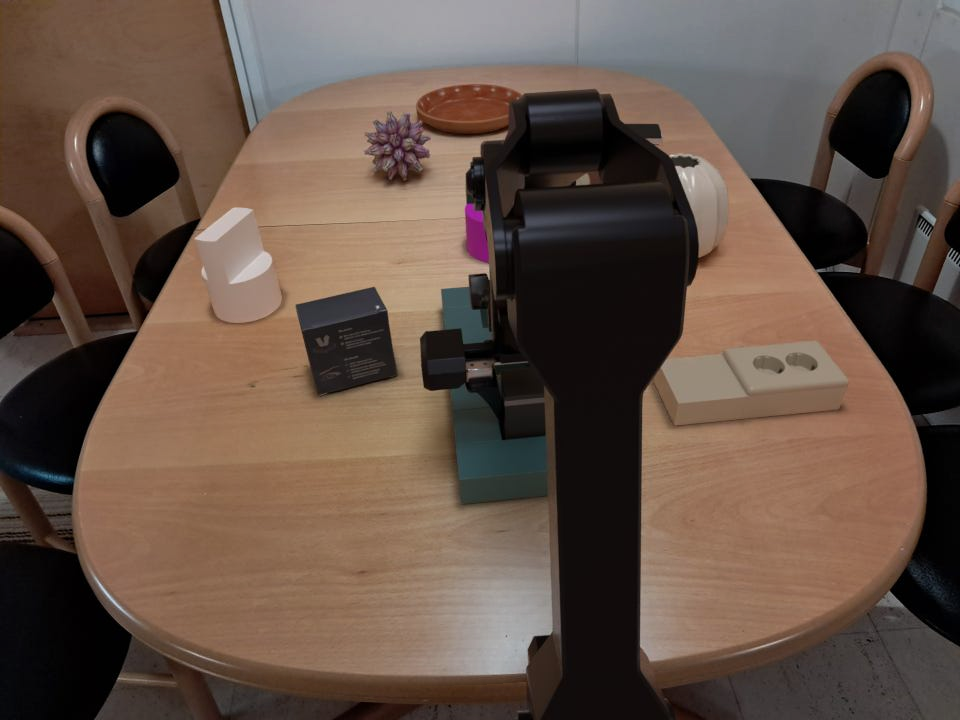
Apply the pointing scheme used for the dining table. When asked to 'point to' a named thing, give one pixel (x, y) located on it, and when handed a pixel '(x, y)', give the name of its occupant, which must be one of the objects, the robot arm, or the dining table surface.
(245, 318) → the base with upright slab
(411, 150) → the flower
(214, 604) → the dining table surface
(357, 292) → the box
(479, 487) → the teal three-hole plate
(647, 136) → the smartphone
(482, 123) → the saucer
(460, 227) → the dining table surface
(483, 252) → the magenta slotted-back ring holder
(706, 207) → the vase
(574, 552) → the robot arm
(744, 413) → the electrical outlet
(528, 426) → the block
